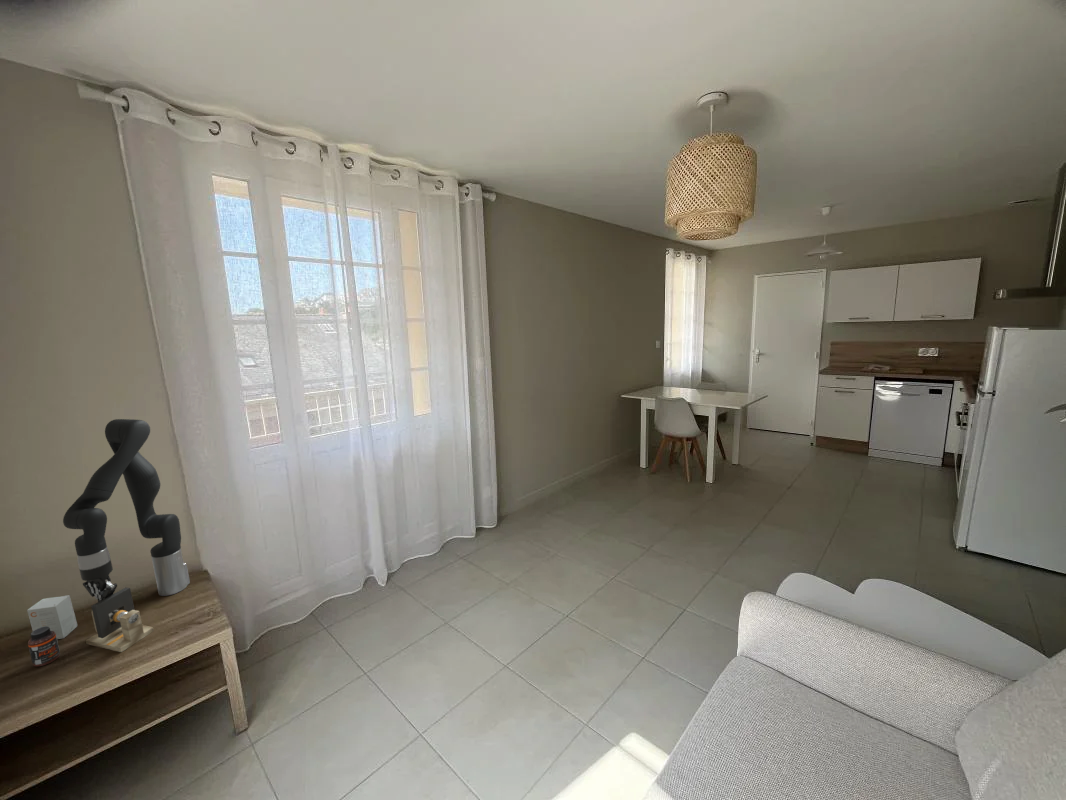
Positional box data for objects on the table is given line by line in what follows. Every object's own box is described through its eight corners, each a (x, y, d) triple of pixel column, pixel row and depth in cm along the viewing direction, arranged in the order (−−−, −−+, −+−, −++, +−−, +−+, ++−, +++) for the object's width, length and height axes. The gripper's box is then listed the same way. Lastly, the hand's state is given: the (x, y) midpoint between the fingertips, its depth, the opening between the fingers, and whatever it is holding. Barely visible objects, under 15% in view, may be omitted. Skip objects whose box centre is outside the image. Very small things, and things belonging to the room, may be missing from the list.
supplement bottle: (41, 669, 133) (33, 638, 130) (28, 666, 134) (19, 635, 132) (65, 654, 138) (58, 625, 136) (52, 651, 139) (45, 622, 137)
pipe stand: (120, 623, 152) (114, 597, 150) (153, 630, 149) (148, 604, 147) (86, 644, 143) (80, 616, 141) (121, 652, 139) (115, 624, 137)
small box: (78, 626, 151) (70, 594, 149) (63, 638, 145) (55, 606, 143) (50, 629, 149) (42, 598, 147) (34, 643, 143) (25, 610, 141)
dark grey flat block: (132, 617, 150) (125, 587, 148) (136, 617, 150) (130, 588, 147) (98, 637, 141) (91, 605, 138) (102, 638, 140) (95, 606, 138)
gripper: (122, 559, 143) (131, 602, 147) (94, 554, 146) (104, 597, 150) (95, 571, 136) (105, 617, 140) (66, 566, 139) (77, 611, 142)
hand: (104, 606), depth 145 cm, fingers closed
